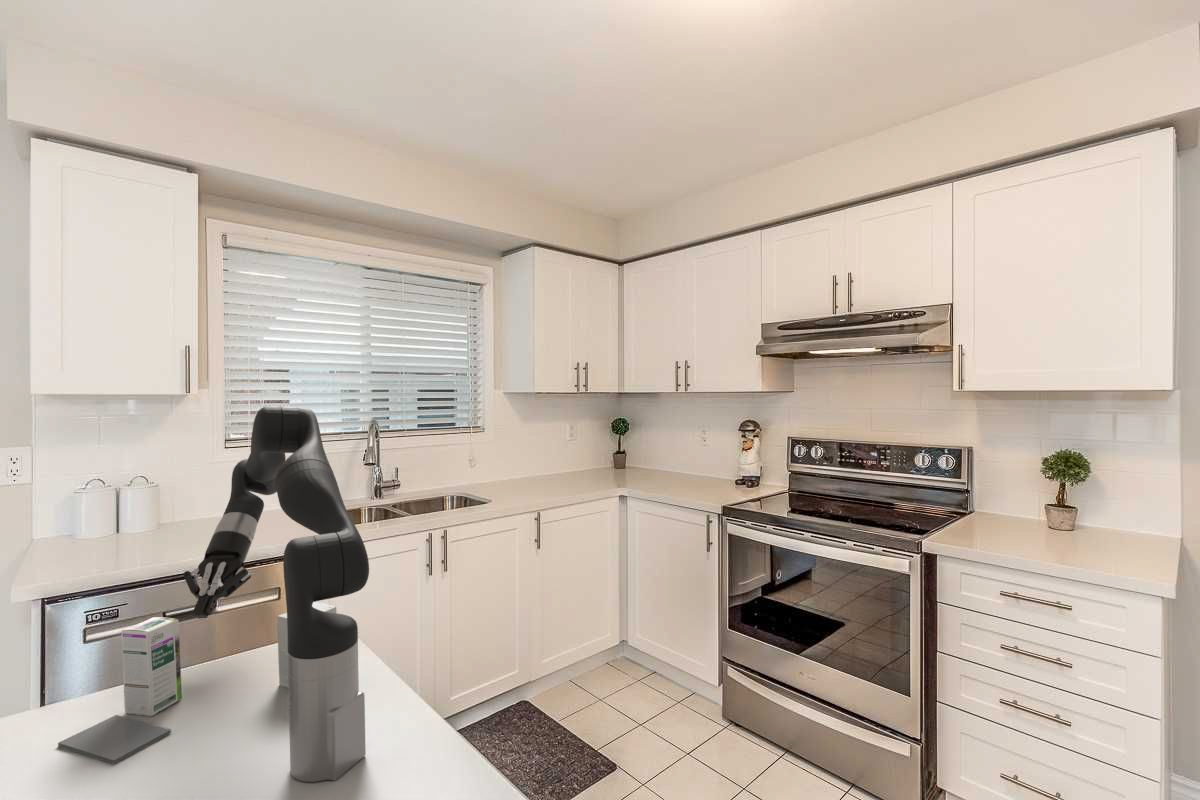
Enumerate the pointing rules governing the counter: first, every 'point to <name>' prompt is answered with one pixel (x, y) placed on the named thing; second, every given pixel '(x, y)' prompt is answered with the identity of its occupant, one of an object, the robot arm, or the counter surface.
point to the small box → (284, 641)
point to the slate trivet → (114, 739)
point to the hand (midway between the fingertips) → (200, 616)
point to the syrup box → (151, 666)
